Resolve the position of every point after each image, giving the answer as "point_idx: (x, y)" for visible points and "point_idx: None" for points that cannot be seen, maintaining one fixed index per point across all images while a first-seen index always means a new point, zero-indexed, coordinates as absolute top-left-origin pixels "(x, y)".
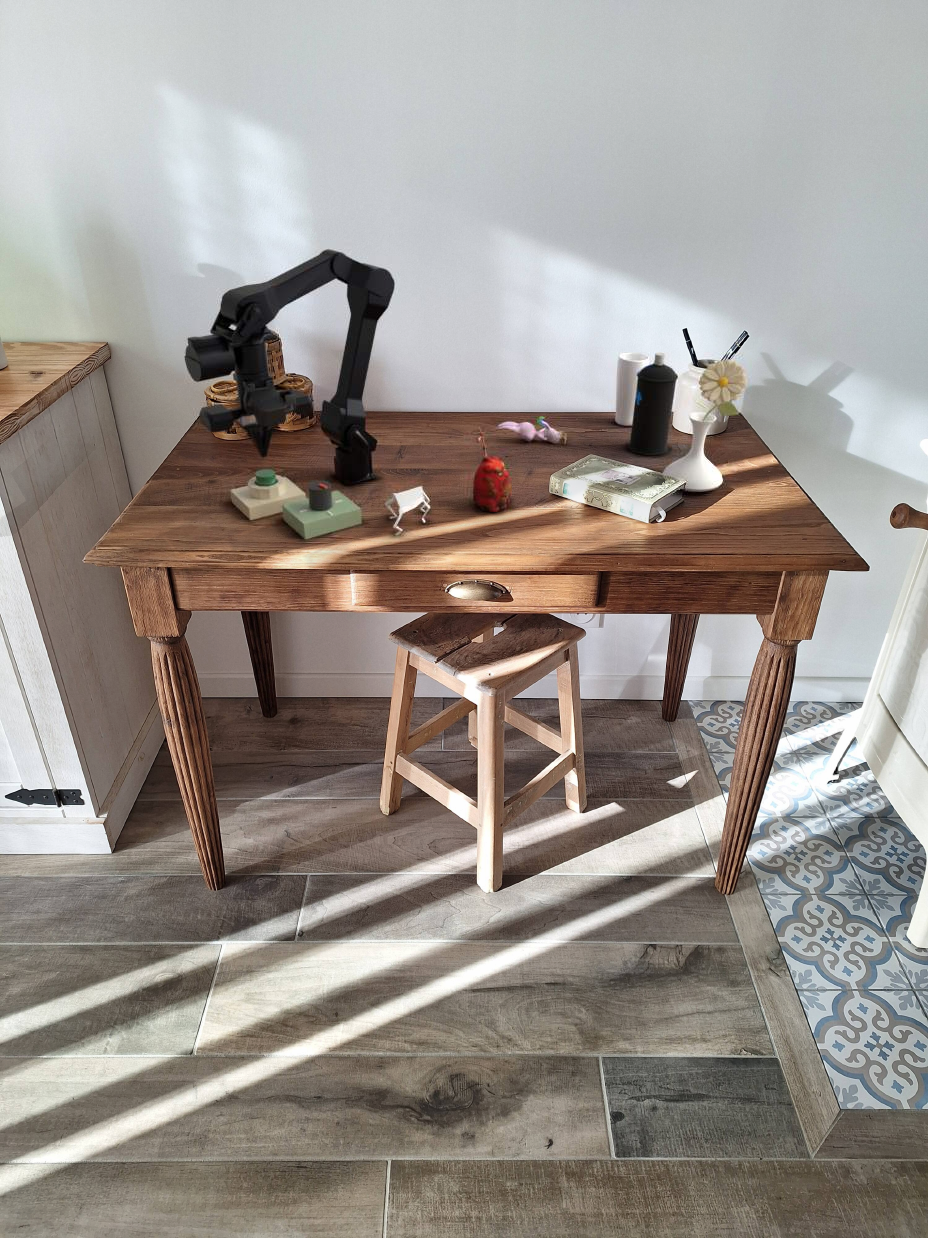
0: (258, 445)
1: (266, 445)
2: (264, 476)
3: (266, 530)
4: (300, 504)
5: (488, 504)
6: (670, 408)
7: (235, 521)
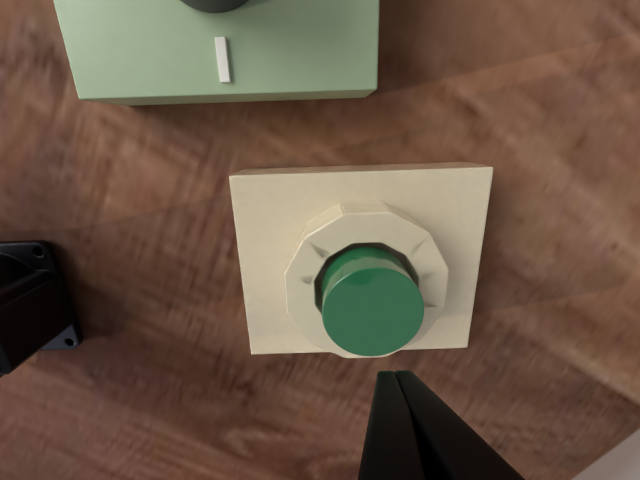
0: (492, 454)
1: (394, 441)
2: (395, 279)
3: (461, 42)
4: (298, 36)
5: None
6: None
7: (511, 184)
